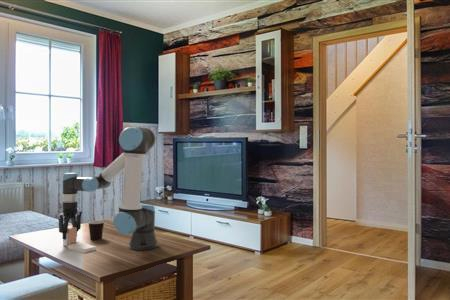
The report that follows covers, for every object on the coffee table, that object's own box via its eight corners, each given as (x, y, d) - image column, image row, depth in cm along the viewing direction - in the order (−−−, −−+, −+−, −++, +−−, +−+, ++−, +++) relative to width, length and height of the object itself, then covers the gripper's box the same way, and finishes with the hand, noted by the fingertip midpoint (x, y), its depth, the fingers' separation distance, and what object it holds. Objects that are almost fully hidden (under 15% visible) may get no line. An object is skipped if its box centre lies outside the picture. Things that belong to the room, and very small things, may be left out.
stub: (76, 245, 201) (76, 227, 200) (69, 247, 197) (69, 228, 197) (69, 243, 204) (69, 225, 204) (63, 245, 201) (63, 227, 200)
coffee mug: (98, 241, 211) (99, 224, 210) (85, 240, 212) (85, 223, 212) (109, 236, 222) (109, 220, 222) (96, 235, 224) (96, 219, 224)
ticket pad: (95, 250, 194) (95, 246, 194) (84, 253, 188) (84, 249, 188) (79, 245, 202) (79, 241, 202) (67, 248, 196) (67, 244, 196)
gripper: (79, 198, 209) (79, 239, 210) (51, 202, 195) (51, 246, 196) (88, 200, 205) (87, 241, 206) (59, 203, 191) (59, 248, 191)
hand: (69, 244), depth 201 cm, fingers closed on stub, 4 cm apart
